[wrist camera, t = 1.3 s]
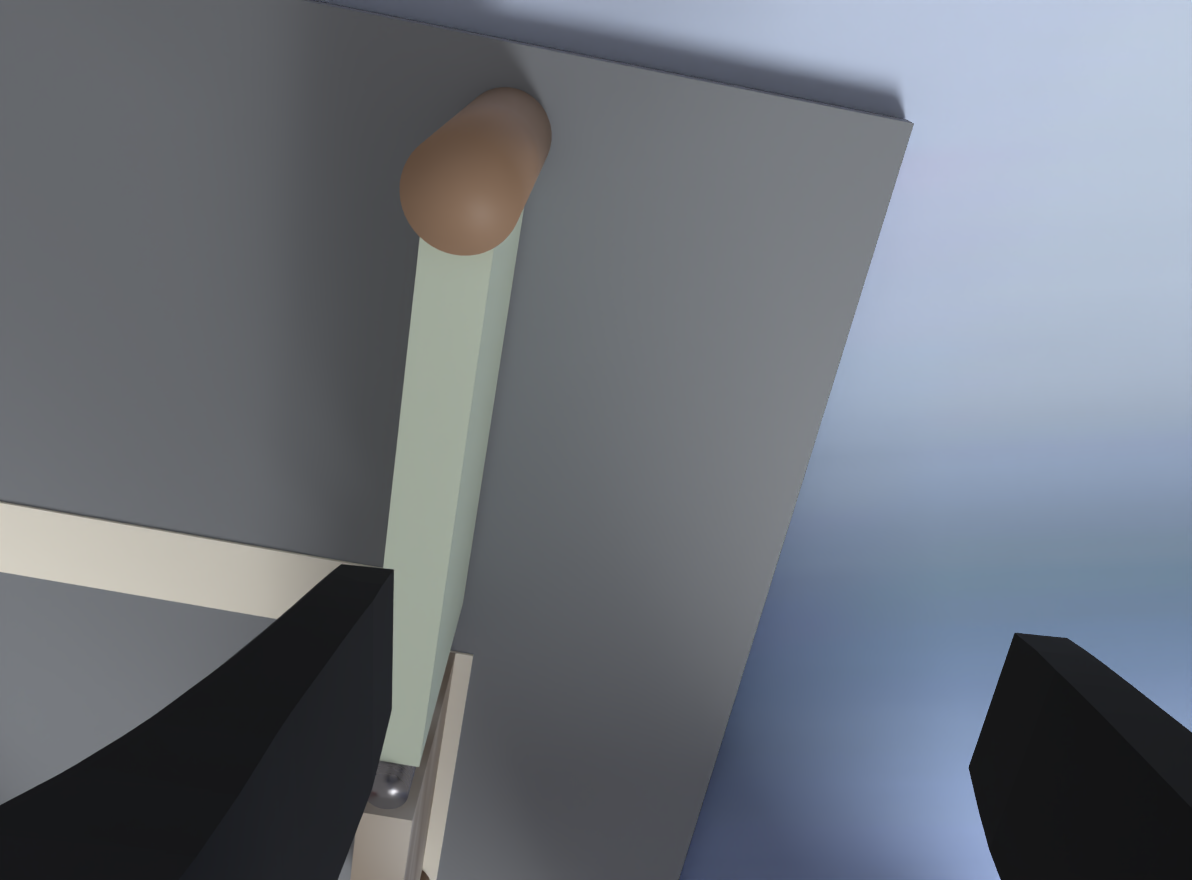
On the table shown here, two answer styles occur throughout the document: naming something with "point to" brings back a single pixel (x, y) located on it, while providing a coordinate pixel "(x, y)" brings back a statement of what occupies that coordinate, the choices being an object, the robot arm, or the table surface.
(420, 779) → the fence fixed section
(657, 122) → the board
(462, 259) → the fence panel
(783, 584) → the table surface
